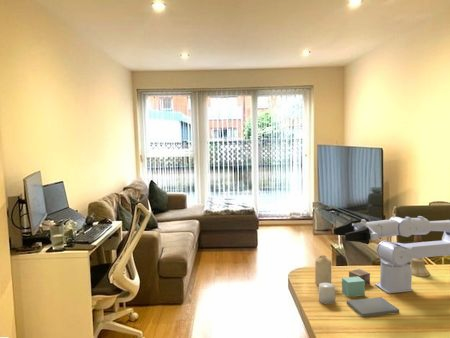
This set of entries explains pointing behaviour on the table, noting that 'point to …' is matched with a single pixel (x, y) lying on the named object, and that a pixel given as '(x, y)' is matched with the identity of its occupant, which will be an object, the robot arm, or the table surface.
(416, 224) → the robot arm
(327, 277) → the candle
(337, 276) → the table surface
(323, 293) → the grey cylinder
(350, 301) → the slate board
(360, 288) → the teal brick
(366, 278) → the walnut block
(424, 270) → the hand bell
